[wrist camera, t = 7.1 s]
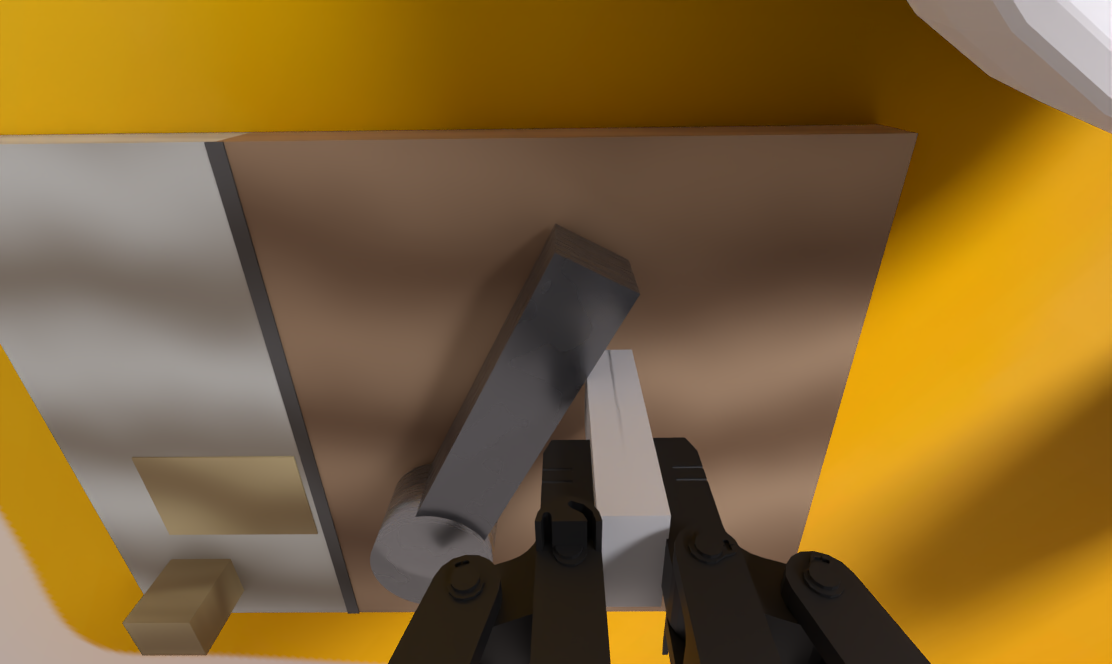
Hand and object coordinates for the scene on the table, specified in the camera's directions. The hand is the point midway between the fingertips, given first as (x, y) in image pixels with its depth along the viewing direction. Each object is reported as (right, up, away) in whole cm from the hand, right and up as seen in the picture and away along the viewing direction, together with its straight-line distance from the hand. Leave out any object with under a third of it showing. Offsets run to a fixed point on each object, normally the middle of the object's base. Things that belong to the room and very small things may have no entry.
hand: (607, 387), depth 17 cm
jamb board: (-6, -1, +4) cm, 7 cm away
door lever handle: (-4, -1, +2) cm, 4 cm away
